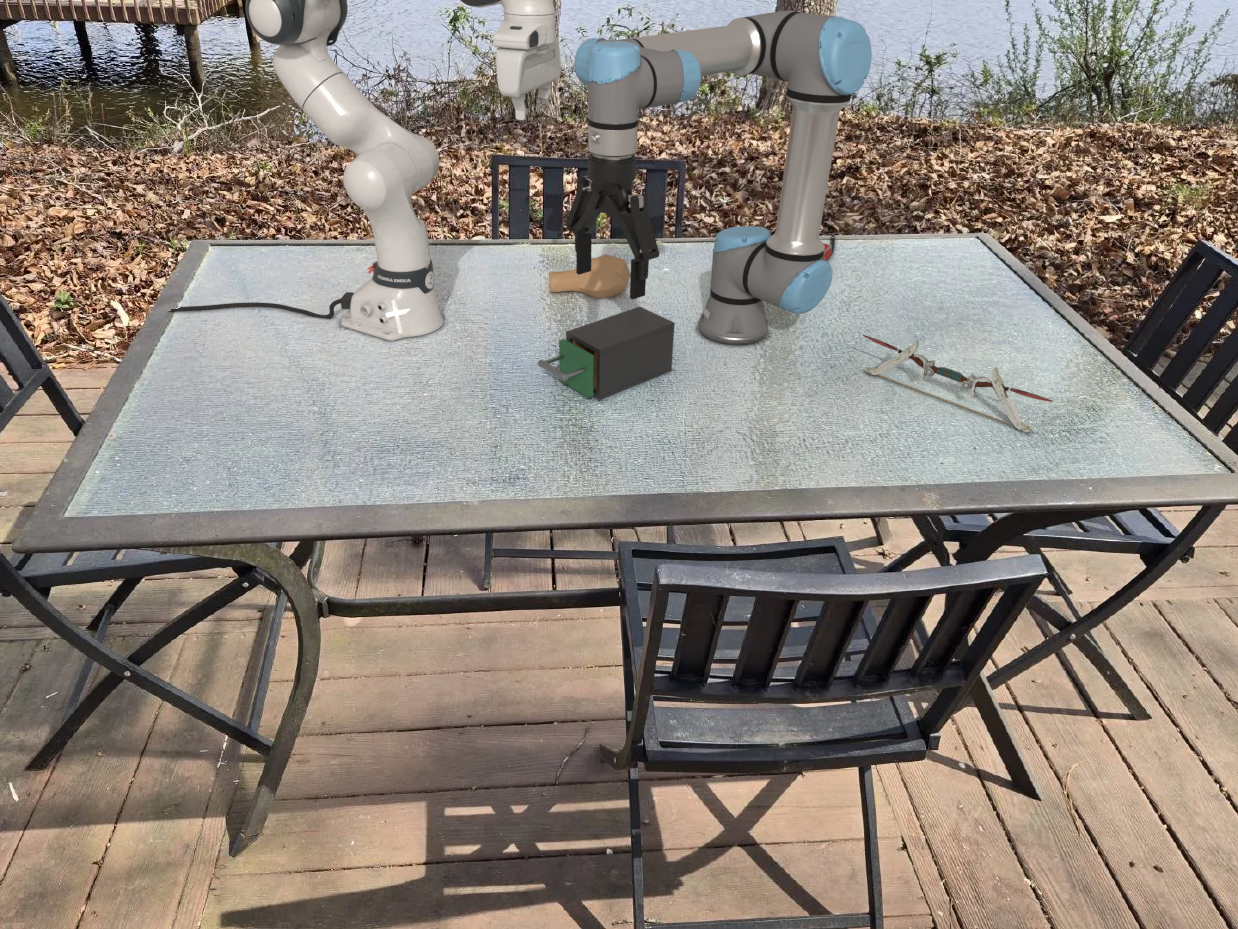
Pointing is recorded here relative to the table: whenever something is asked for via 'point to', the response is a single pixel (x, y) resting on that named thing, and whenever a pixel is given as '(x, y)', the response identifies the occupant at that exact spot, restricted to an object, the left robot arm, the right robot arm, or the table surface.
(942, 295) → the table surface
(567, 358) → the drawer
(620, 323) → the dark grey box
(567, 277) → the squash
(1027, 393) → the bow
